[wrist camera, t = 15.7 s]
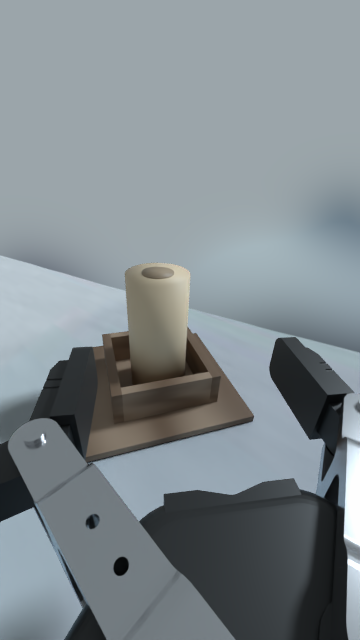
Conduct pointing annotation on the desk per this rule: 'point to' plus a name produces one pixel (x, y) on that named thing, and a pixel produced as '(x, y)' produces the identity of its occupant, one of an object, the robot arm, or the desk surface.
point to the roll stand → (158, 400)
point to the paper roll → (157, 320)
